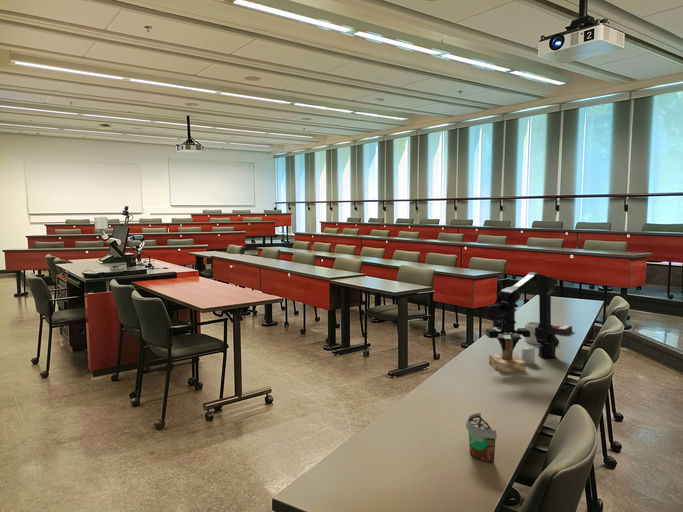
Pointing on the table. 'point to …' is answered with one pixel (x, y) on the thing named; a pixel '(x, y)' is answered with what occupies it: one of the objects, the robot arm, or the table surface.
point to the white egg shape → (528, 355)
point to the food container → (481, 439)
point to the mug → (531, 328)
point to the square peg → (508, 349)
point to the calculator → (562, 329)
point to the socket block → (507, 363)
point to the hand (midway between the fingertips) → (507, 351)
